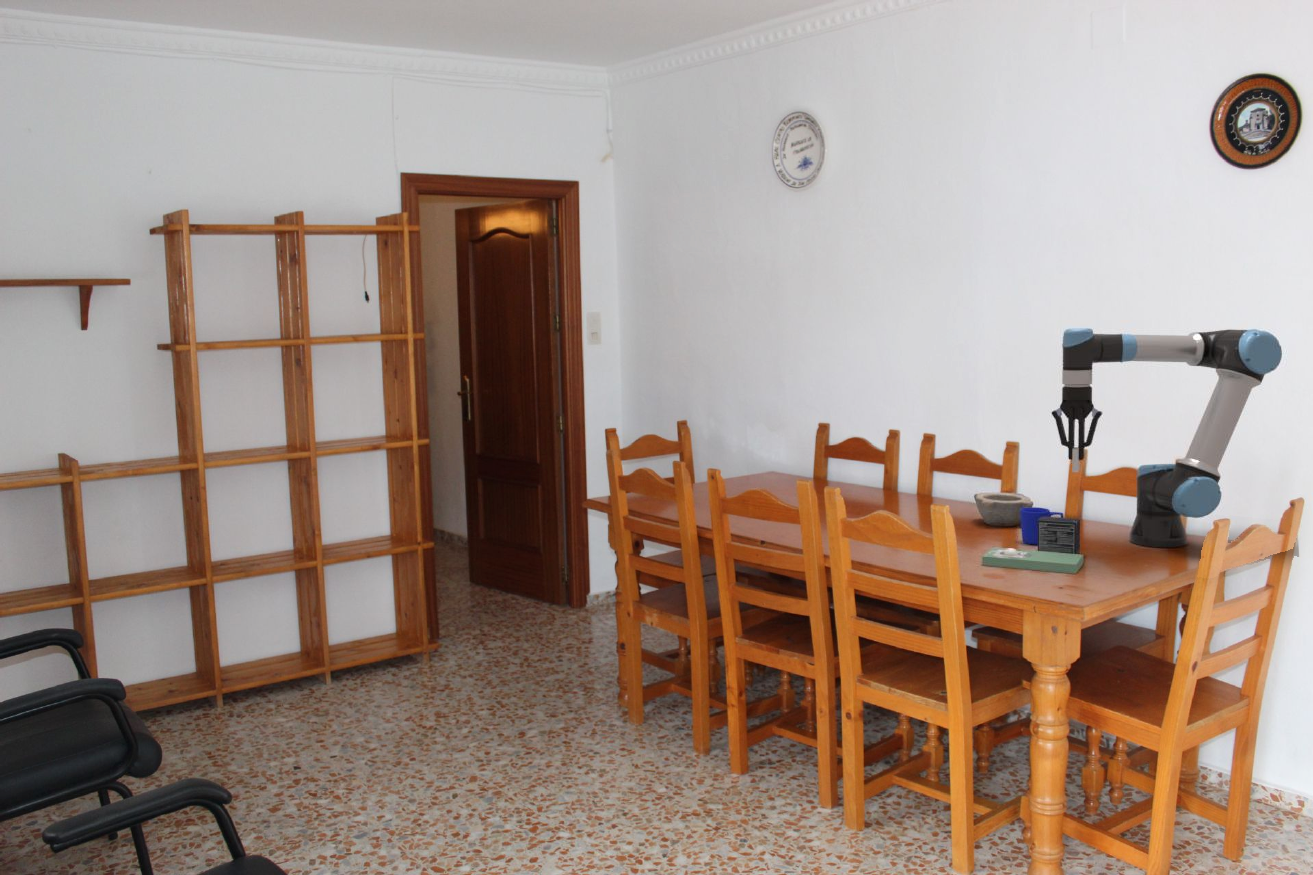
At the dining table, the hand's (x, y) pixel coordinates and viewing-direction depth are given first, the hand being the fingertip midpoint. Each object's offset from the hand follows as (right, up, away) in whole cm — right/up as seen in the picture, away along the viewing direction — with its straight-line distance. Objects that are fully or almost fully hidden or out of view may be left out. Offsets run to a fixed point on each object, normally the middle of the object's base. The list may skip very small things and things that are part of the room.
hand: (1075, 471), depth 288 cm
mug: (-1, -22, +23) cm, 32 cm away
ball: (-17, -23, +1) cm, 29 cm away
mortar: (-3, -19, +52) cm, 55 cm away
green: (-13, -25, -2) cm, 28 cm away
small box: (-2, -24, +8) cm, 25 cm away
